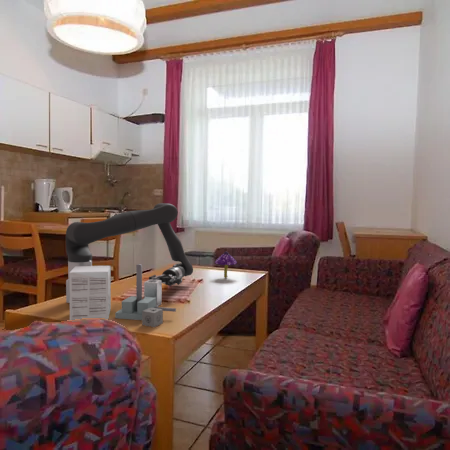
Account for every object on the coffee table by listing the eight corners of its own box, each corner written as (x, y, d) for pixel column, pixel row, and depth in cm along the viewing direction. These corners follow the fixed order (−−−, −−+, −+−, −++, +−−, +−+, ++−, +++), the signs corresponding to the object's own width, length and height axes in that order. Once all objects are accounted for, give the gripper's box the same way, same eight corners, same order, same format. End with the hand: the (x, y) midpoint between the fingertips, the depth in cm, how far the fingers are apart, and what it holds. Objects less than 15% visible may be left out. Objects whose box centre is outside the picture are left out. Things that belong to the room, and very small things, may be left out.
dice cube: (154, 327, 126) (154, 312, 126) (142, 325, 128) (142, 310, 128) (162, 323, 131) (162, 309, 130) (150, 321, 133) (150, 307, 133)
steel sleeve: (144, 306, 151) (144, 282, 150) (149, 303, 156) (149, 279, 155) (156, 307, 150) (157, 282, 149) (161, 304, 155) (161, 280, 154)
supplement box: (75, 311, 143) (74, 265, 142) (111, 309, 146) (111, 265, 145) (68, 322, 130) (68, 272, 129) (108, 320, 133) (108, 271, 132)
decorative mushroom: (230, 281, 203) (230, 253, 202) (210, 278, 209) (210, 251, 208) (240, 277, 214) (241, 251, 213) (221, 275, 220) (222, 249, 219)
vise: (115, 318, 135) (115, 265, 134) (127, 310, 145) (127, 261, 144) (170, 322, 132) (171, 268, 130) (179, 314, 141) (179, 264, 140)
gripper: (157, 267, 177) (144, 273, 161) (186, 268, 174) (176, 275, 158) (157, 282, 177) (144, 290, 162) (186, 284, 175) (176, 292, 159)
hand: (160, 283), depth 160 cm, fingers open, 8 cm apart
